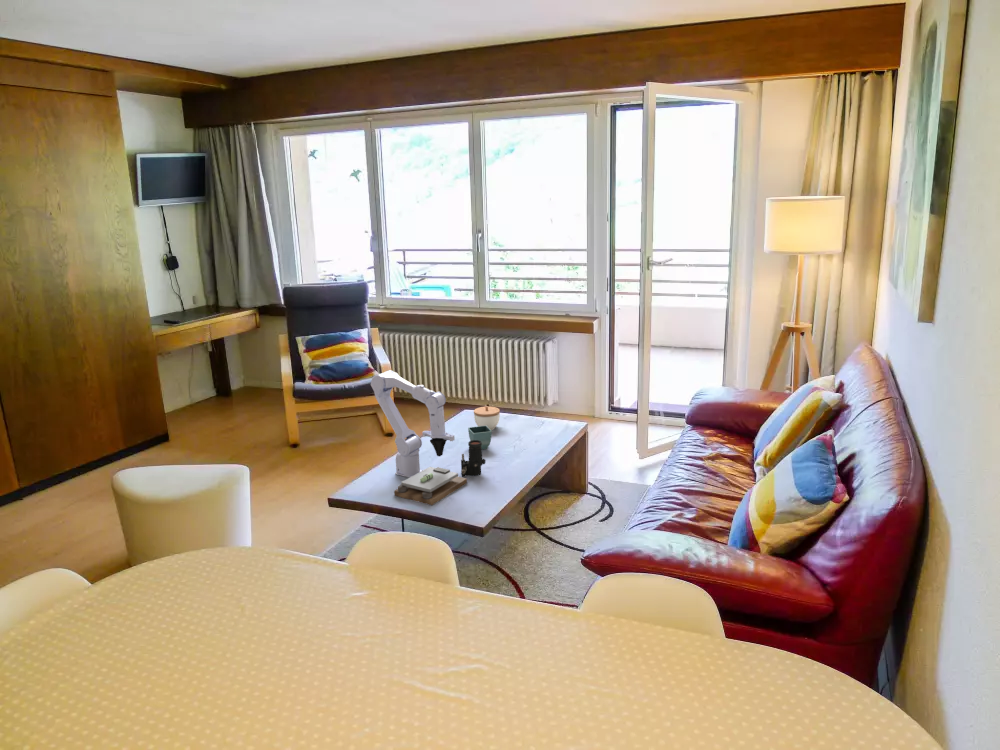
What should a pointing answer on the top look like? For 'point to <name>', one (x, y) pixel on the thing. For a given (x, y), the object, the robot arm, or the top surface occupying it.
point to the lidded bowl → (487, 416)
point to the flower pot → (480, 435)
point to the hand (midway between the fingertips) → (439, 455)
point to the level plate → (430, 479)
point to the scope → (473, 460)
